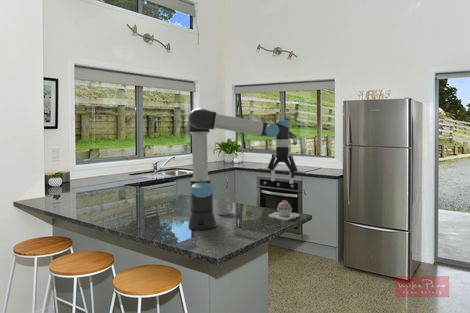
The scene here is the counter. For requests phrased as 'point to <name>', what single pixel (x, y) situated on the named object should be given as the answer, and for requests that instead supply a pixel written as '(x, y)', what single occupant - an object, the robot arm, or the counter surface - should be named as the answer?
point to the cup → (223, 206)
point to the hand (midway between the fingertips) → (282, 182)
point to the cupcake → (284, 209)
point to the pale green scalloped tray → (276, 216)
